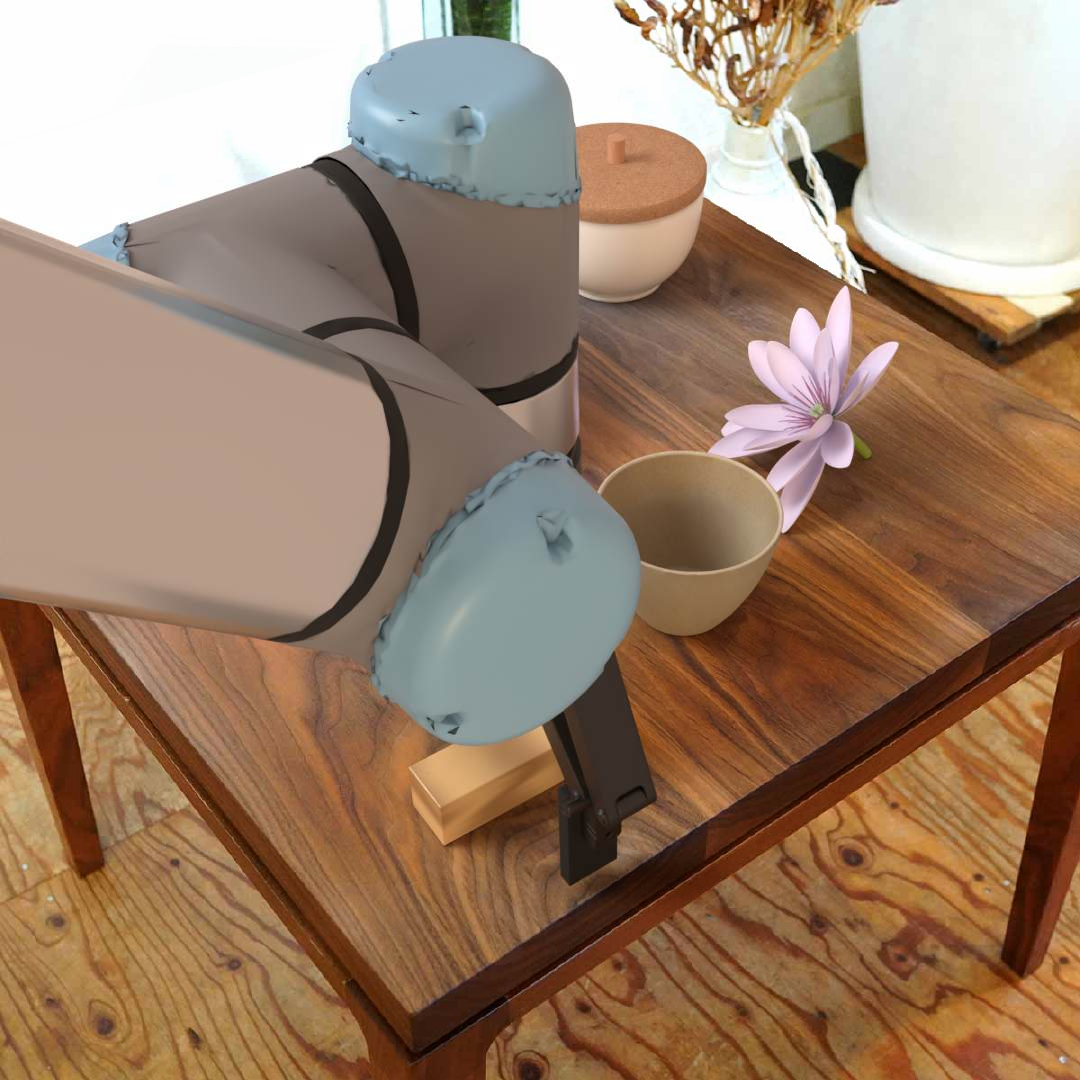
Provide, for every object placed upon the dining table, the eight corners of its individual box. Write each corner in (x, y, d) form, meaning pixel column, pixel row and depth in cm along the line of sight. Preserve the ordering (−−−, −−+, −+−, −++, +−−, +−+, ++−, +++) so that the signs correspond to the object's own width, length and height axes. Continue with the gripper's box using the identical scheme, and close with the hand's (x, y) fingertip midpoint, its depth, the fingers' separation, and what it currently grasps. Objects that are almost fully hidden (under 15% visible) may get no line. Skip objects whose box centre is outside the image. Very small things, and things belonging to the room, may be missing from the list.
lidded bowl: (515, 317, 104) (509, 176, 96) (542, 226, 113) (540, 91, 106) (692, 330, 102) (701, 187, 95) (706, 237, 111) (715, 100, 104)
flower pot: (657, 696, 77) (662, 599, 72) (560, 583, 84) (558, 487, 79) (808, 626, 81) (823, 529, 76) (704, 523, 87) (711, 428, 82)
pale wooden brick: (444, 846, 70) (440, 807, 68) (412, 805, 72) (407, 766, 70) (597, 762, 74) (597, 724, 72) (563, 725, 76) (562, 686, 74)
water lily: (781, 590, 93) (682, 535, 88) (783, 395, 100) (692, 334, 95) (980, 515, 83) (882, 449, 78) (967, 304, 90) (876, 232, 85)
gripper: (763, 576, 52) (728, 913, 66) (411, 270, 68) (445, 597, 82) (590, 666, 49) (593, 999, 63) (264, 325, 65) (325, 654, 79)
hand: (510, 773), depth 73 cm, fingers open, 13 cm apart
